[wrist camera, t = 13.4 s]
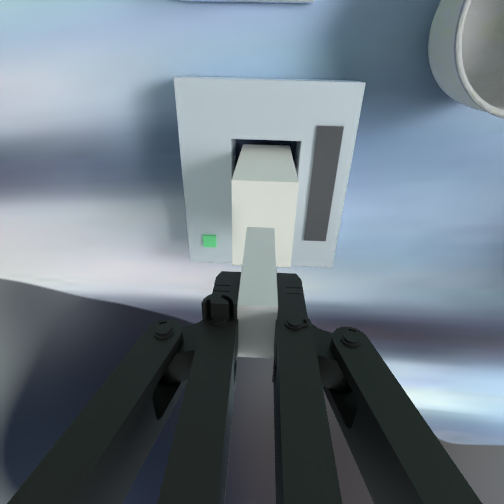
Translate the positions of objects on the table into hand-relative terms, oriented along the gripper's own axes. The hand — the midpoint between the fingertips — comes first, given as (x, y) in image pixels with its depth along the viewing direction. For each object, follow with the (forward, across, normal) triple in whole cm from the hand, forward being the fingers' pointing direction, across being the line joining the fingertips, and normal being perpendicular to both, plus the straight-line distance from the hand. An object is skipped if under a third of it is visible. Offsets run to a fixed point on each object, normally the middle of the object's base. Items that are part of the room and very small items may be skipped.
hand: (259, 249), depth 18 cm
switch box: (+15, 0, 0) cm, 15 cm away
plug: (+15, 0, 0) cm, 15 cm away
